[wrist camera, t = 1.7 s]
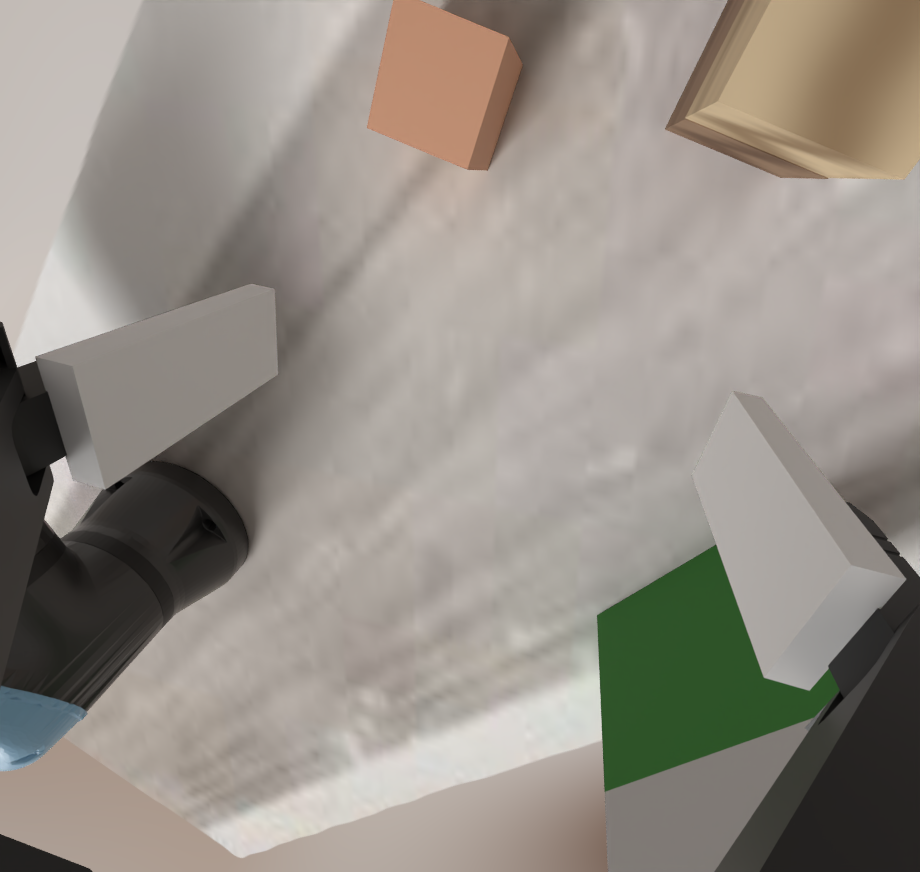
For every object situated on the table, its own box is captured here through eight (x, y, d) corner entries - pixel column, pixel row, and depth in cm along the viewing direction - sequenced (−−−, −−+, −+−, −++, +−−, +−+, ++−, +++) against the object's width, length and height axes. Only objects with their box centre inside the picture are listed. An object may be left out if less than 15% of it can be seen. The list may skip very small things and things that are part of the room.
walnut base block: (664, 129, 27) (684, 119, 22) (743, -31, 24) (789, -88, 19) (780, 177, 27) (827, 178, 22) (876, 24, 24) (960, -18, 18)
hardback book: (772, 511, 37) (1023, 947, 16) (835, 568, 38) (1146, 1045, 17) (597, 615, 45) (613, 987, 25) (653, 659, 46) (712, 1050, 26)
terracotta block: (405, 136, 30) (366, 127, 25) (432, 27, 27) (395, -10, 22) (487, 170, 30) (467, 169, 24) (522, 65, 27) (509, 37, 22)
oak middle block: (685, 117, 22) (717, 101, 17) (789, -90, 19) (871, -191, 13) (827, 177, 22) (904, 179, 17) (960, -19, 18) (1109, -93, 13)
